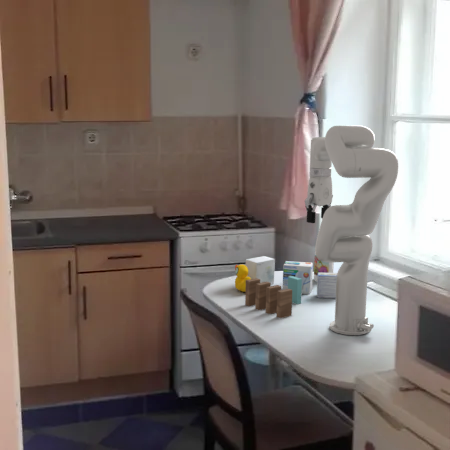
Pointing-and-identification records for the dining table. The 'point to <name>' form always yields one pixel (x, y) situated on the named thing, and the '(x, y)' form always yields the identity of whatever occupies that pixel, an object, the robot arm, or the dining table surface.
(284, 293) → the tile
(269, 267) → the skincare box
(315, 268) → the milk bottle
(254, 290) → the tile
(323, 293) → the medicine box
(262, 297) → the tile
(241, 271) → the duckling
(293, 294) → the teal tile
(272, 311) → the tile
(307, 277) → the light bulb box
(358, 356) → the dining table surface
